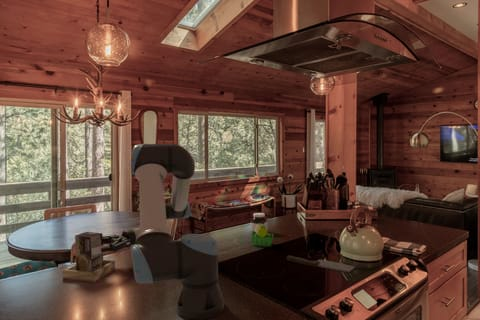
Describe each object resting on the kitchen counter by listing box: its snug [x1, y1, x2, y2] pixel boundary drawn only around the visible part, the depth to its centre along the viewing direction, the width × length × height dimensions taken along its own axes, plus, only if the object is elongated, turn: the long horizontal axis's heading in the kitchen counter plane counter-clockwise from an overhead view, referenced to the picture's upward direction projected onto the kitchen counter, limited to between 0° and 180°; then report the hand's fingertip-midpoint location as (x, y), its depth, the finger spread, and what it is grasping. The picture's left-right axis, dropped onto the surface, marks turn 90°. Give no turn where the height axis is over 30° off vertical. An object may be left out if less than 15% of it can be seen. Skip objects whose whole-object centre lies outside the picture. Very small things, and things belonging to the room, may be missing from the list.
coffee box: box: [74, 231, 104, 272], centre depth 137 cm, size 9×6×16 cm
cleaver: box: [286, 255, 356, 273], centre depth 146 cm, size 29×10×2 cm, turn 60°
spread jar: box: [250, 212, 269, 234], centre depth 197 cm, size 12×11×12 cm
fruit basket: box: [250, 225, 274, 247], centre depth 175 cm, size 11×9×11 cm
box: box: [62, 259, 116, 283], centre depth 137 cm, size 14×14×4 cm
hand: (85, 248), depth 136 cm, fingers open, 13 cm apart
